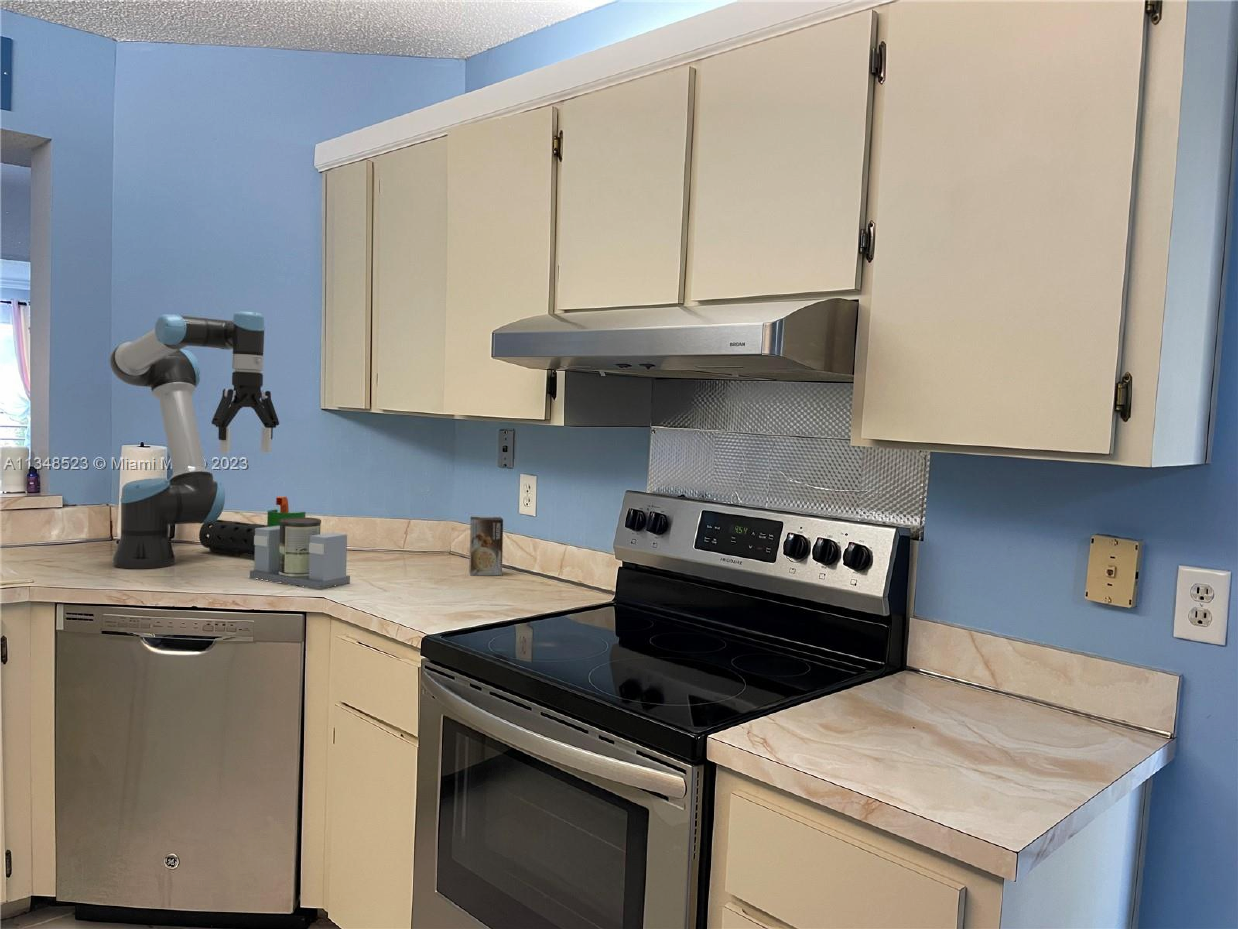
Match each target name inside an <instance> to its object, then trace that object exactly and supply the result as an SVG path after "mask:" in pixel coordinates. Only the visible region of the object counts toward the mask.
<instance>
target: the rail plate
mask: <svg viewBox="0 0 1238 929" xmlns="http://www.w3.org/2000/svg"><path fill="white" fill-rule="evenodd" d="M251 578H258V579H263V580H268V581H267V582H269V581H272V582H271V583H275V582H281V583H286V584H285V585H287V584H290V585H289V586H293V585H299V586H304V587H303V588H305V587H308V588H307V589H311V588H313V590H317V589H321V590H325V589H324V588H326V589H328V588H327V587H330V588H332V587H331V586H335V585H340V586H344V585H348V584H347V583H349V584H350V583H351V575H348V574H346V577H342V578H337V579H332V580H327V581H320V580H314V579H309V576H306V577H289V576H282V575H280V574H279V570H278V571H272V572H264V571H258V570H254V569H252V570H249V579H251ZM263 580H262V581H263ZM281 583H280V584H281ZM343 584H344V585H343ZM299 586H298V587H299ZM335 587H336V586H335Z"/></svg>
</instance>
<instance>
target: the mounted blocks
mask: <svg viewBox="0 0 1238 929" xmlns="http://www.w3.org/2000/svg"><path fill="white" fill-rule="evenodd" d="M254 545H255V555H254V563H253V564H254V569H253V570H258V571H264V572H272V571H278V570H279V546H280V526H272V527H263V528H255V536H254ZM347 552H348V534H346V533H345V534H344V533H339V532H327V533H320V534H319V535H312V536H310V543H309V553H310V557H309V579H314V580H320V581H327V580H332V579H337V578H342V577H346V575H347V562H348V561H347V557H348V555H347V554H348V553H347Z"/></svg>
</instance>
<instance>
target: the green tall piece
mask: <svg viewBox="0 0 1238 929" xmlns="http://www.w3.org/2000/svg"><path fill="white" fill-rule="evenodd" d="M275 505H276V506H279V507H280V508H279V509H280V512H279V510H278V509H270V510H267V516H266V517H267V522H266V525H267V527H272V526H280V522H279V521H280V519H284V518H295V517H304V518H306V511H299V512H290V511H289V508H290V507H289V500H288V498H287V496H277V497H276V498H275Z"/></svg>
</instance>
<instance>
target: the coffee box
mask: <svg viewBox="0 0 1238 929" xmlns="http://www.w3.org/2000/svg"><path fill="white" fill-rule="evenodd" d="M469 532H470V533H469V565H468V567H469V568H468V573H469V575H470V576H503V553H504V551H503V550H504V548H503V547H504V546H503V543H504V519H503V518H502V517H501V516H497V517H495V516H470V528H469Z"/></svg>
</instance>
